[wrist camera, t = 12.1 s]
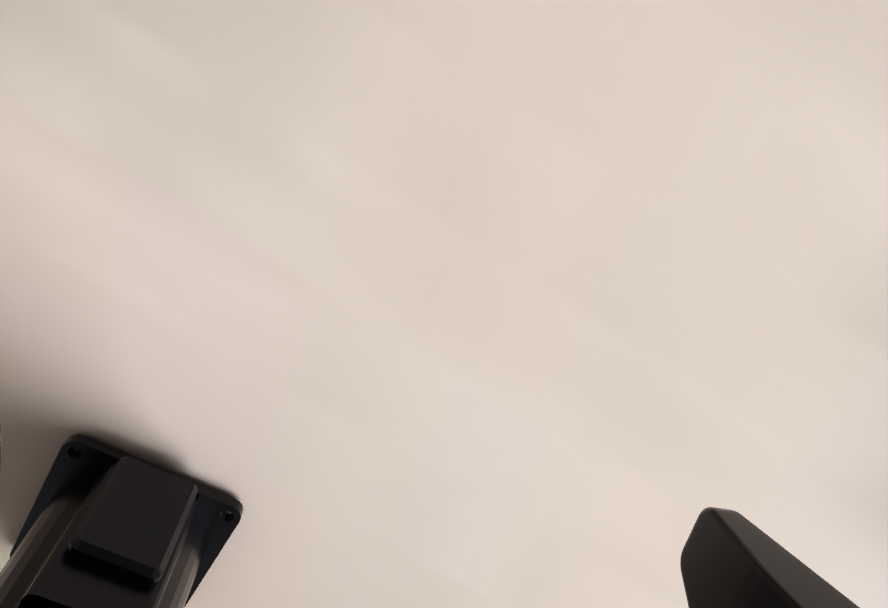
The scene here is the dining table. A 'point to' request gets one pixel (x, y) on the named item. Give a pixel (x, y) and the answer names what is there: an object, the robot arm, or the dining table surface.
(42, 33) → the dining table surface
